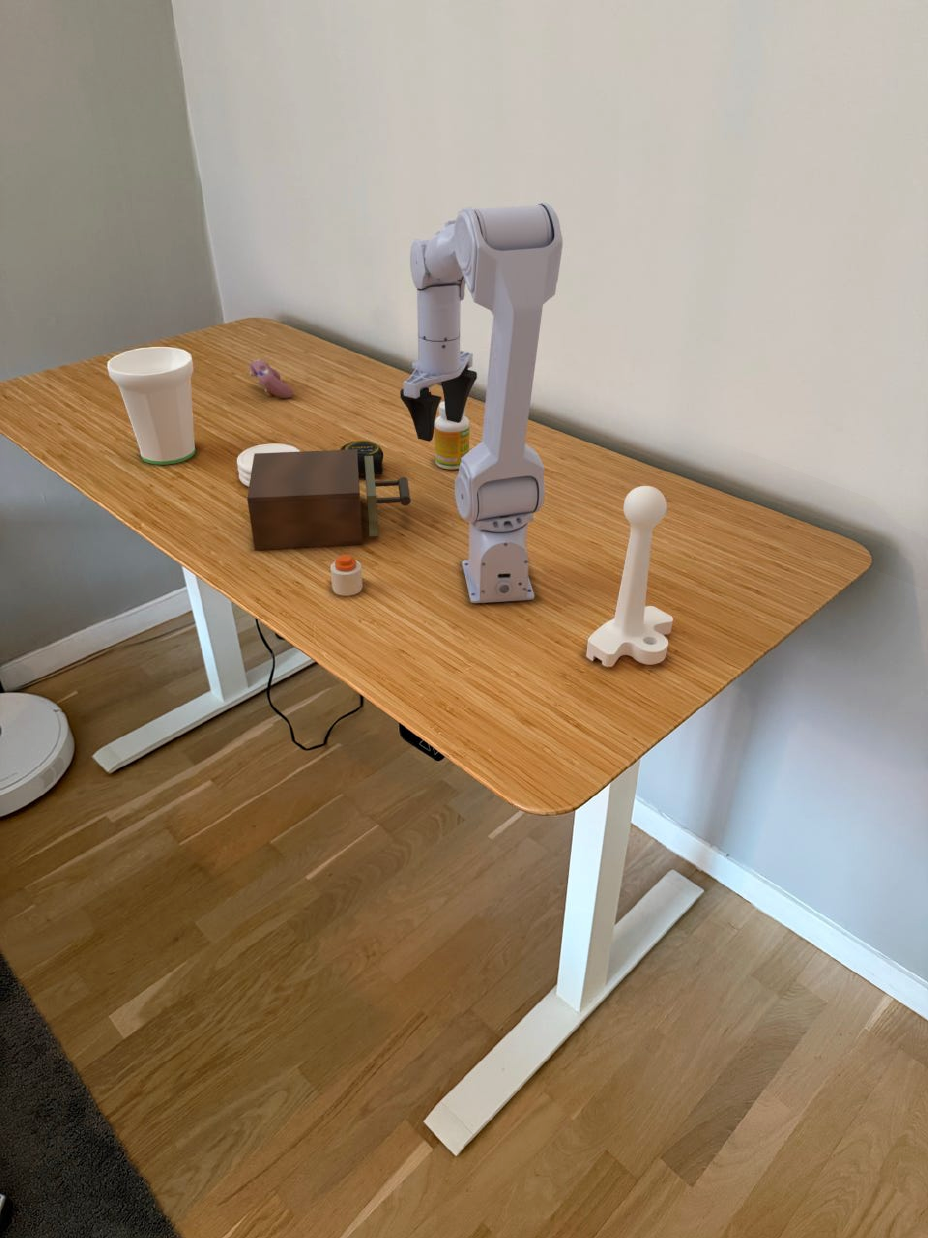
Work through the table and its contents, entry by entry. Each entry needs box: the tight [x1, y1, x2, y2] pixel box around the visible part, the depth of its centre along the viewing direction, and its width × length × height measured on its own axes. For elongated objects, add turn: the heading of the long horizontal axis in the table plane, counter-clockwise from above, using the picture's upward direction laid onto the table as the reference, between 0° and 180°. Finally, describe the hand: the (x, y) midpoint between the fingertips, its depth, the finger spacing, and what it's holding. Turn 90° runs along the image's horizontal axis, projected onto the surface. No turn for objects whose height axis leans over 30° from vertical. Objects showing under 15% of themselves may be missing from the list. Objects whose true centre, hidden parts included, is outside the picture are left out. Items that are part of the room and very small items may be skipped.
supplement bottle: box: [434, 400, 470, 470], centre depth 139 cm, size 5×5×10 cm
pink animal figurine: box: [248, 358, 294, 399], centre depth 163 cm, size 10×5×7 cm, turn 25°
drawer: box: [364, 456, 411, 537], centre depth 124 cm, size 18×12×6 cm
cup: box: [106, 346, 196, 466], centre depth 139 cm, size 12×12×15 cm
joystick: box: [585, 485, 674, 668], centre depth 97 cm, size 11×8×20 cm
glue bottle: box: [329, 554, 364, 597], centre depth 111 cm, size 4×4×4 cm
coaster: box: [236, 442, 301, 488], centre depth 136 cm, size 10×10×4 cm
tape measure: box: [339, 440, 384, 476], centre depth 138 cm, size 7×7×4 cm
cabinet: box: [246, 449, 363, 551], centre depth 123 cm, size 14×13×8 cm
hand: (439, 429), depth 127 cm, fingers open, 7 cm apart
